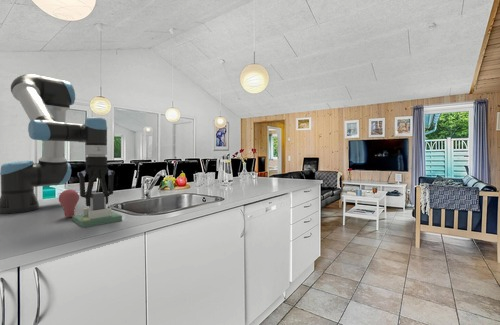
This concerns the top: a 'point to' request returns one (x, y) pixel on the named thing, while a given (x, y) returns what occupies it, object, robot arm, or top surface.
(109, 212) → the board
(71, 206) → the light bulb
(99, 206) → the dark gray block
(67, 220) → the top surface
